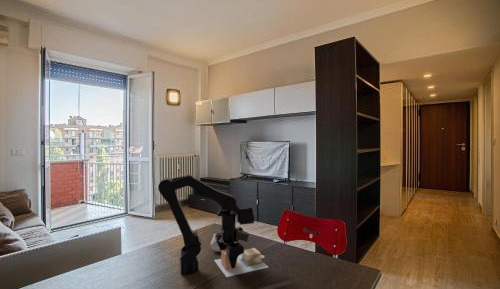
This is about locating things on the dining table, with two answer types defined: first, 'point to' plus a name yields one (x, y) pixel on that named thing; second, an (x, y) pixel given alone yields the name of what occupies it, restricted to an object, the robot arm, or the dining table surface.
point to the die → (215, 244)
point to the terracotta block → (225, 260)
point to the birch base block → (251, 256)
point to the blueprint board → (240, 267)
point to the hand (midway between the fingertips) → (229, 263)
